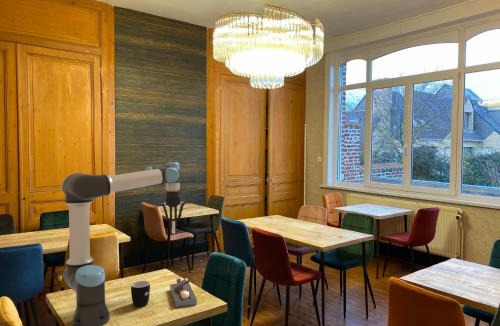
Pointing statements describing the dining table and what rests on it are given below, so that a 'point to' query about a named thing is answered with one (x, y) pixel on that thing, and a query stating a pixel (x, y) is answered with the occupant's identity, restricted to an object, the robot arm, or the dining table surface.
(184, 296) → the cream button
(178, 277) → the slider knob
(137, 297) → the mug
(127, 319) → the dining table surface
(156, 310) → the dining table surface
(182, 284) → the rocker
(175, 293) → the panel
